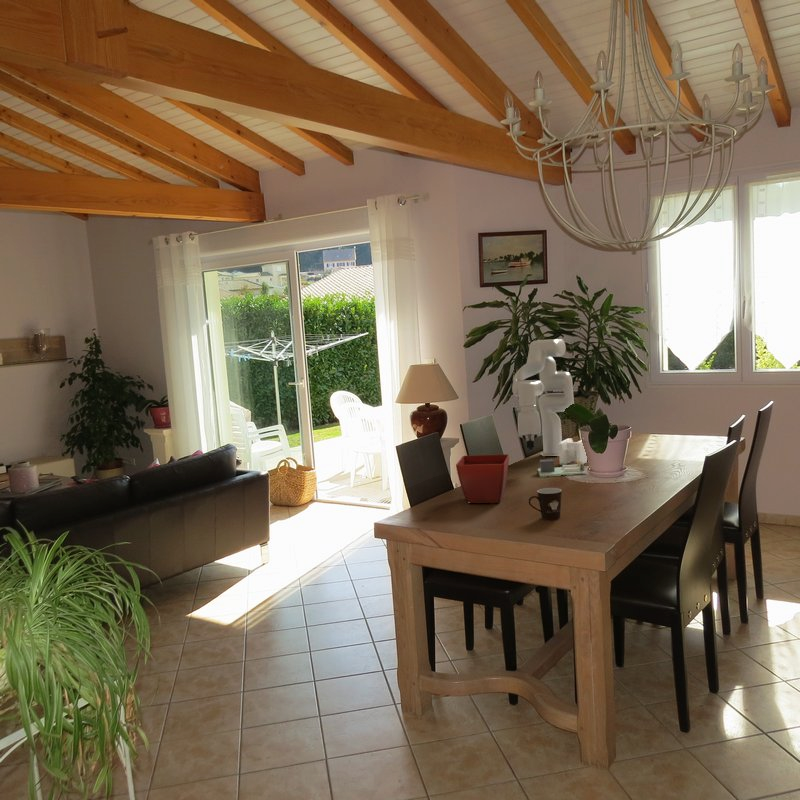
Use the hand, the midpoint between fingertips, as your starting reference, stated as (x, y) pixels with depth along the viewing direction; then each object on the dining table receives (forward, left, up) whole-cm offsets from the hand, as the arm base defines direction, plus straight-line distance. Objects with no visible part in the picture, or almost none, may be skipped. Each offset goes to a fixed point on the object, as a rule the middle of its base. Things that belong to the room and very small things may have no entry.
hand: (530, 449), depth 349 cm
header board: (0, +13, -12) cm, 18 cm away
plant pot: (+45, -21, -12) cm, 51 cm away
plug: (0, +7, -11) cm, 13 cm away
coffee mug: (+76, +1, -12) cm, 77 cm away
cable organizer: (-18, +21, -12) cm, 30 cm away
